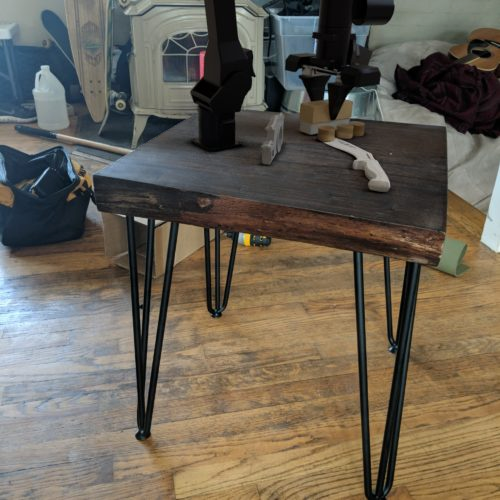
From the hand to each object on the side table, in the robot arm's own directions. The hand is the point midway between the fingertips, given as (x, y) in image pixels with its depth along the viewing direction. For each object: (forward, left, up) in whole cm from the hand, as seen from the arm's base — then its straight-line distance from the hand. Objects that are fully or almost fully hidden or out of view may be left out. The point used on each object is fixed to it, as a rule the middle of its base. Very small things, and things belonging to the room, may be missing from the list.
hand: (325, 117), depth 96 cm
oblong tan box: (0, 0, -2) cm, 2 cm away
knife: (+14, -8, -3) cm, 16 cm away
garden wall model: (+6, -17, -3) cm, 18 cm away
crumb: (+5, +3, -3) cm, 6 cm away
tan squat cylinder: (+5, -4, -2) cm, 7 cm away
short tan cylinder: (+5, 0, -3) cm, 5 cm away
